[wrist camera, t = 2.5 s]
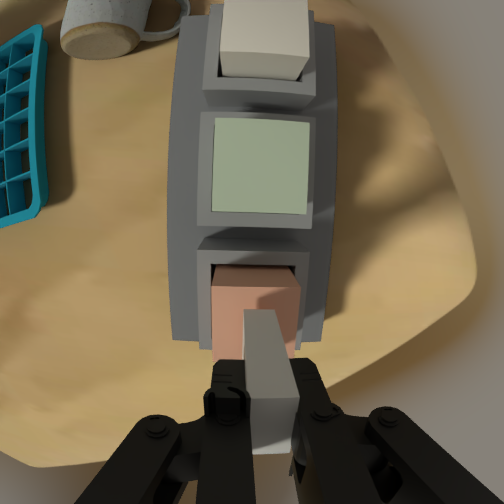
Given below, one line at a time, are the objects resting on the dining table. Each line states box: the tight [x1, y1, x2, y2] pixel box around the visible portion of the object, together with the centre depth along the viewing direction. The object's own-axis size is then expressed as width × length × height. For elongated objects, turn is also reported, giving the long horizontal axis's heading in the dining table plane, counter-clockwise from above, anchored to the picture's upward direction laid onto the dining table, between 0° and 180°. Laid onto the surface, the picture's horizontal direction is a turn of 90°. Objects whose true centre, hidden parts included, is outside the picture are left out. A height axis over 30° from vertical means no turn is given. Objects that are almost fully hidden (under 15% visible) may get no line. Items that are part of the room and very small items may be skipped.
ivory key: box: [220, 0, 310, 81], centre depth 14 cm, size 4×4×4 cm
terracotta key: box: [211, 264, 301, 362], centre depth 17 cm, size 4×4×4 cm
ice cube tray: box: [0, 24, 49, 228], centre depth 19 cm, size 12×20×3 cm, turn 7°
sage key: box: [212, 118, 310, 214], centre depth 15 cm, size 4×4×4 cm
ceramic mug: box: [60, 0, 191, 60], centre depth 16 cm, size 11×8×8 cm
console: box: [167, 4, 338, 350], centre depth 20 cm, size 12×26×7 cm, turn 178°
